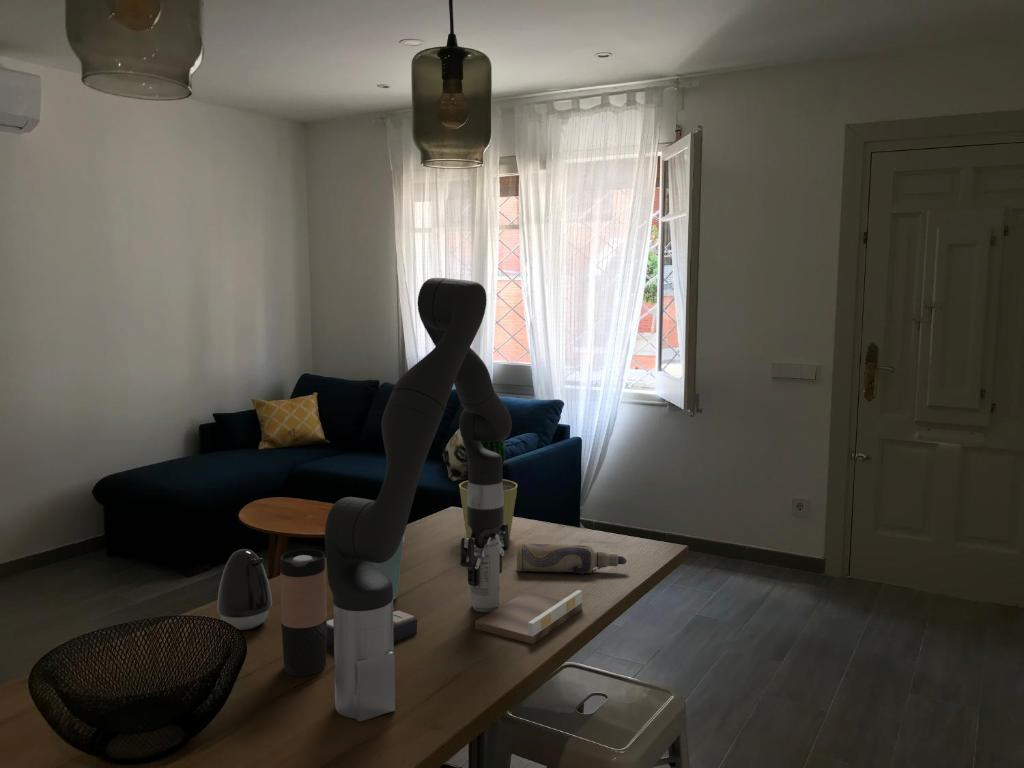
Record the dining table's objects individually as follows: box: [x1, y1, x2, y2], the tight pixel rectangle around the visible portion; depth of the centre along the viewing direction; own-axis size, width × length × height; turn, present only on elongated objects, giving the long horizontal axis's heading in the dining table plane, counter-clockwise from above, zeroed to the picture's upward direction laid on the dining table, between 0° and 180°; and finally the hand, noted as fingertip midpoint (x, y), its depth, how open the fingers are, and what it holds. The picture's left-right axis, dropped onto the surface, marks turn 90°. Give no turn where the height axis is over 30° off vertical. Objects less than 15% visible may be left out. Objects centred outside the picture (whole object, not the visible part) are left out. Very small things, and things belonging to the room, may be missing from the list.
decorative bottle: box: [516, 542, 627, 575], centre depth 192 cm, size 26×8×7 cm, turn 86°
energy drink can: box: [469, 538, 500, 613], centre depth 169 cm, size 6×6×15 cm
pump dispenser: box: [216, 548, 273, 631], centre depth 159 cm, size 10×10×15 cm
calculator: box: [326, 608, 418, 649], centre depth 155 cm, size 11×4×15 cm
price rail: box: [528, 589, 583, 637], centre depth 160 cm, size 20×1×2 cm, turn 148°
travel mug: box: [279, 548, 328, 677], centre depth 141 cm, size 8×8×20 cm
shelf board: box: [474, 589, 583, 645], centre depth 164 cm, size 20×13×2 cm, turn 148°
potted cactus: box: [458, 440, 518, 545], centre depth 215 cm, size 15×15×30 cm
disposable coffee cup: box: [372, 534, 405, 601], centre depth 174 cm, size 11×11×15 cm
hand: (485, 579), depth 169 cm, fingers open, 8 cm apart
